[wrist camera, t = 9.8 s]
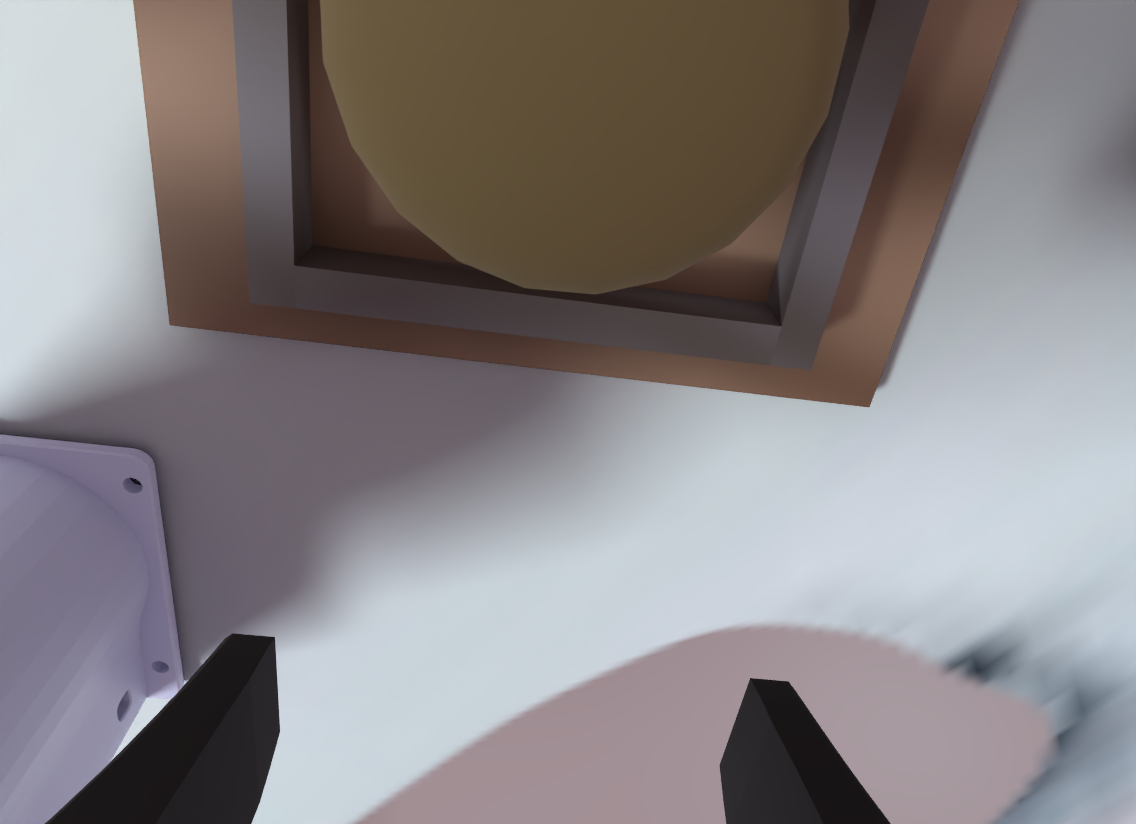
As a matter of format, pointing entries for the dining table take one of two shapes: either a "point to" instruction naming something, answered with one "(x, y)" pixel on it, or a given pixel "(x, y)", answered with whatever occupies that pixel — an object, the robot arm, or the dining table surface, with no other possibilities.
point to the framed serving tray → (543, 317)
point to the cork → (583, 124)
